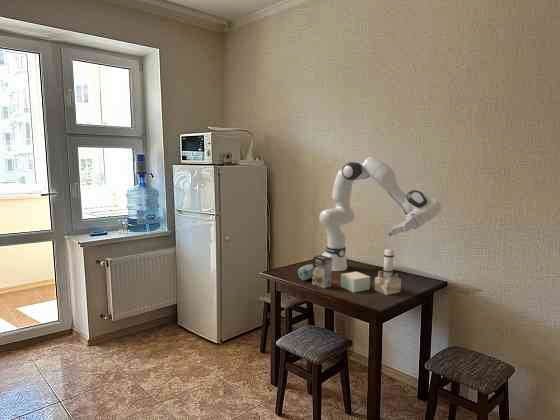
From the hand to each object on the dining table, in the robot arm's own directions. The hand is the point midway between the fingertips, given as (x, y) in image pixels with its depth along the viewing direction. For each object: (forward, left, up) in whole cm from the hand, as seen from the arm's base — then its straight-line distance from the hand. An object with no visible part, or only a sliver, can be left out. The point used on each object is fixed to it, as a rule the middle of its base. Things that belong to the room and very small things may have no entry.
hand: (391, 234), depth 202 cm
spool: (-39, -25, -31) cm, 56 cm away
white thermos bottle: (-1, 0, -24) cm, 24 cm away
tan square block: (-1, 0, -31) cm, 31 cm away
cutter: (-19, -16, -31) cm, 39 cm away
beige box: (-13, -12, -31) cm, 35 cm away
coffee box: (-25, -25, -31) cm, 47 cm away
